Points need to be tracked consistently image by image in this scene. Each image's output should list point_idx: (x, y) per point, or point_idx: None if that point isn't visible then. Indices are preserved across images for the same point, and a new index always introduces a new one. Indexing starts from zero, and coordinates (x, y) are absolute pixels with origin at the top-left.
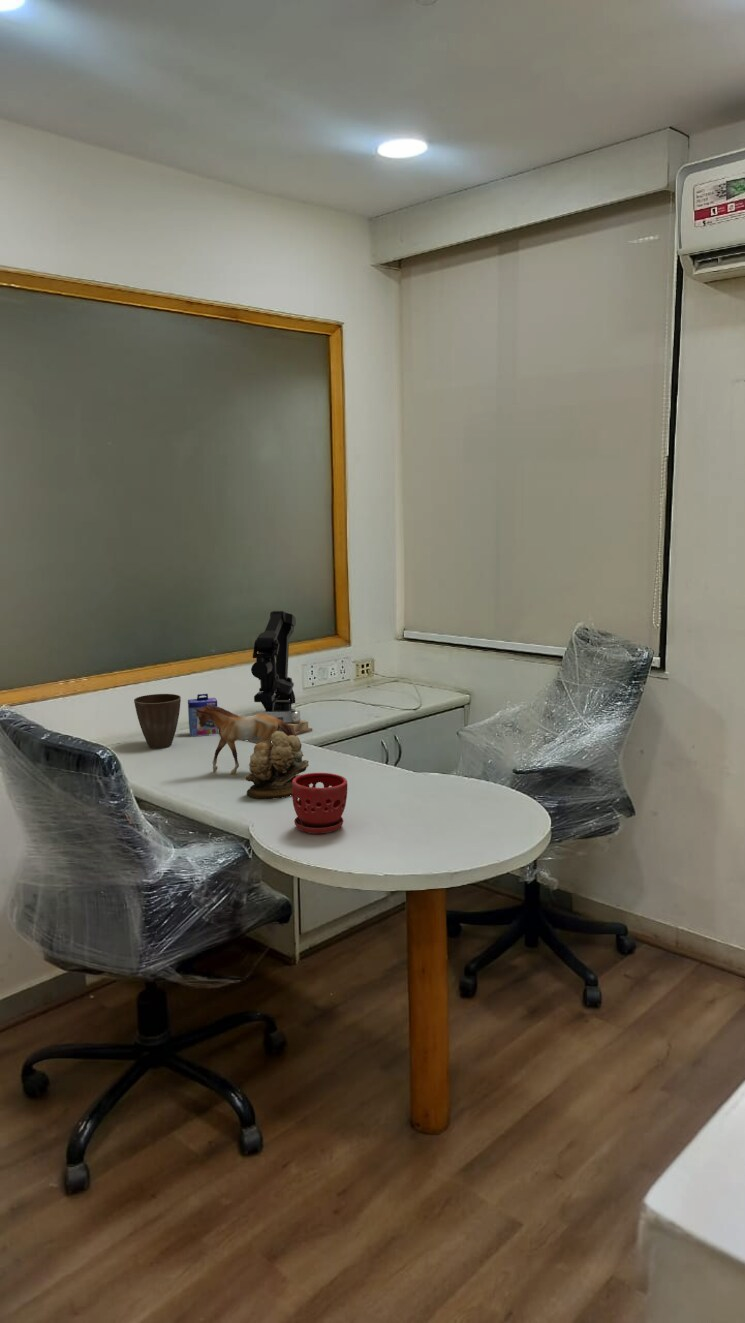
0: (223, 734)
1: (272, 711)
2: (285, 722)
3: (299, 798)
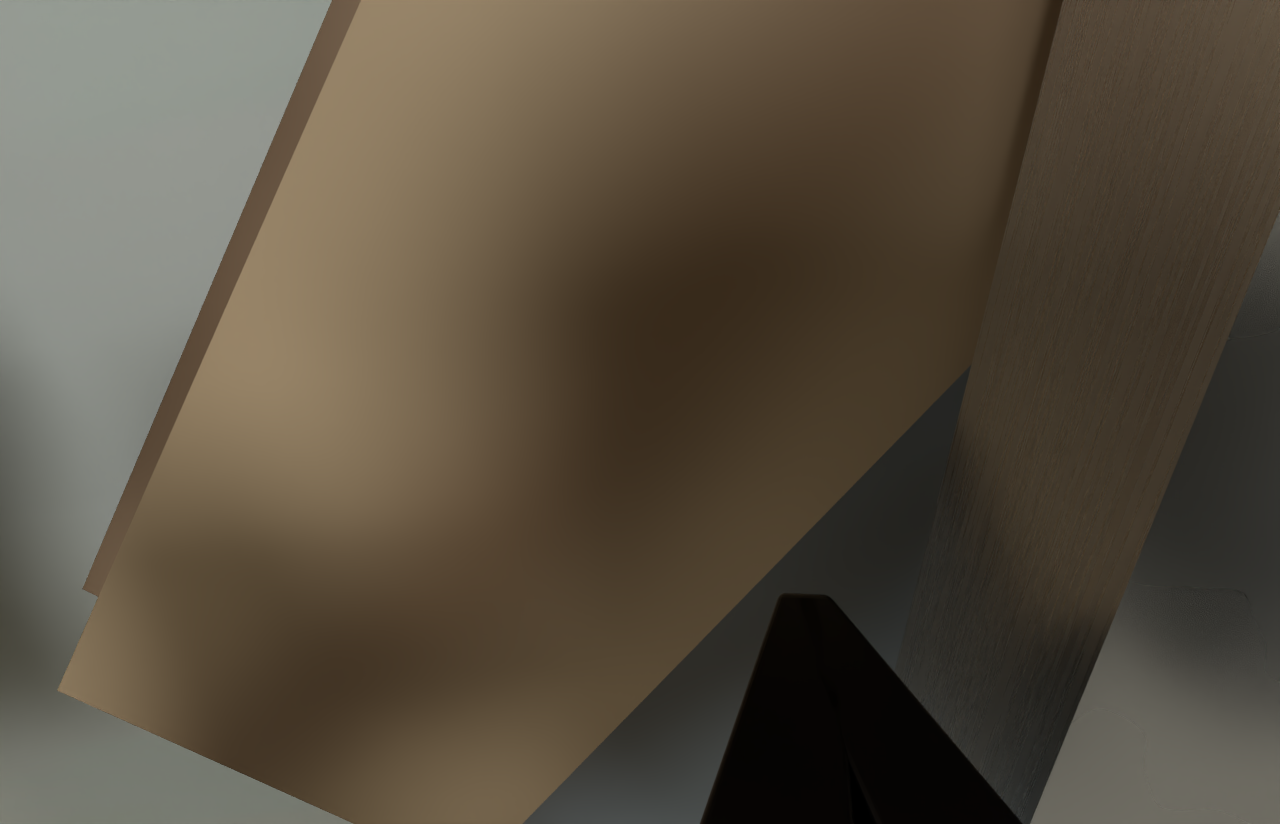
0: None
1: (1266, 740)
2: None
3: None
